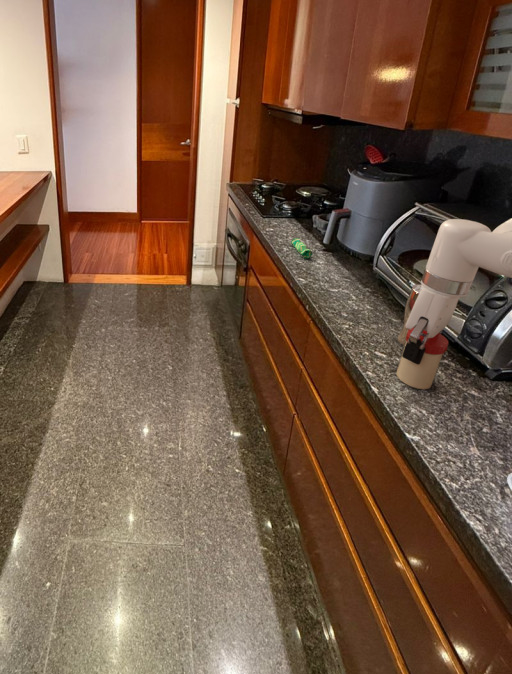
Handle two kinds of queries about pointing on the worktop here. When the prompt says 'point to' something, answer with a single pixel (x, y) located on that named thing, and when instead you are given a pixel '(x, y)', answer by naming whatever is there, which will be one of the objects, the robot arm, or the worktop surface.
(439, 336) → the red lid
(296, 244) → the candy
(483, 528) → the worktop surface
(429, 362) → the jar
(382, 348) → the worktop surface
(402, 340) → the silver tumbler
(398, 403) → the worktop surface
